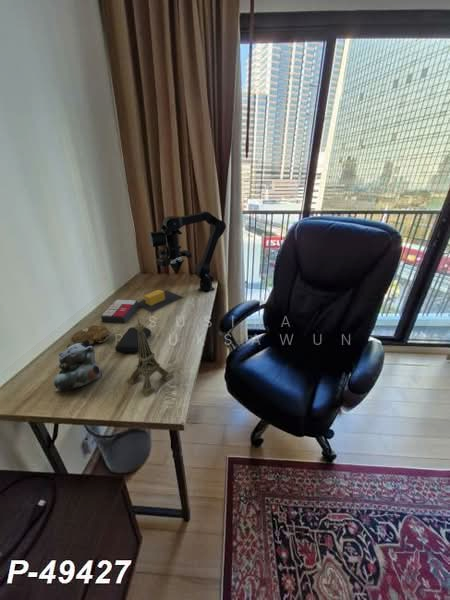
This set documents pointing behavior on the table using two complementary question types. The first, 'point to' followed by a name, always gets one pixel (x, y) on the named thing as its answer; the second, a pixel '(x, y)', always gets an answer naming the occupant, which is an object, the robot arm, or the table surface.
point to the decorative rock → (91, 334)
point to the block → (154, 297)
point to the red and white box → (120, 311)
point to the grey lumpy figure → (76, 367)
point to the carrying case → (131, 340)
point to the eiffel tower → (146, 363)
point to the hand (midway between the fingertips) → (176, 274)
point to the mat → (168, 300)
